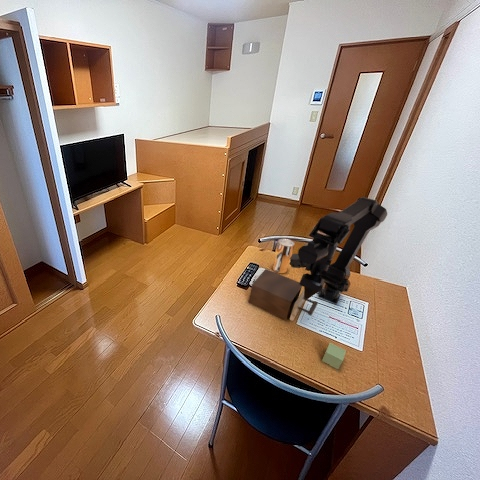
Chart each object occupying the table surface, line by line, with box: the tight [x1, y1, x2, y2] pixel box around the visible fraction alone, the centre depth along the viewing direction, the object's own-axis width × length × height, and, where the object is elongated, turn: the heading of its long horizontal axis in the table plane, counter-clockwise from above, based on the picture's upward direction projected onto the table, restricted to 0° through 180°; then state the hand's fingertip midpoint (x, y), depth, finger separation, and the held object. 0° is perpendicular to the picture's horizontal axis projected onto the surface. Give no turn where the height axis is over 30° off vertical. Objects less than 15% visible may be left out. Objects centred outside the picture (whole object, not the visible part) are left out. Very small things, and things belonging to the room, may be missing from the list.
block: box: [321, 342, 347, 370], centre depth 81 cm, size 4×4×4 cm
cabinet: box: [248, 268, 303, 321], centre depth 102 cm, size 15×13×10 cm
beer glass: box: [272, 238, 296, 274], centre depth 118 cm, size 7×7×15 cm
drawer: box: [288, 289, 319, 322], centre depth 99 cm, size 18×11×8 cm, turn 48°
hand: (308, 291), depth 90 cm, fingers open, 9 cm apart
